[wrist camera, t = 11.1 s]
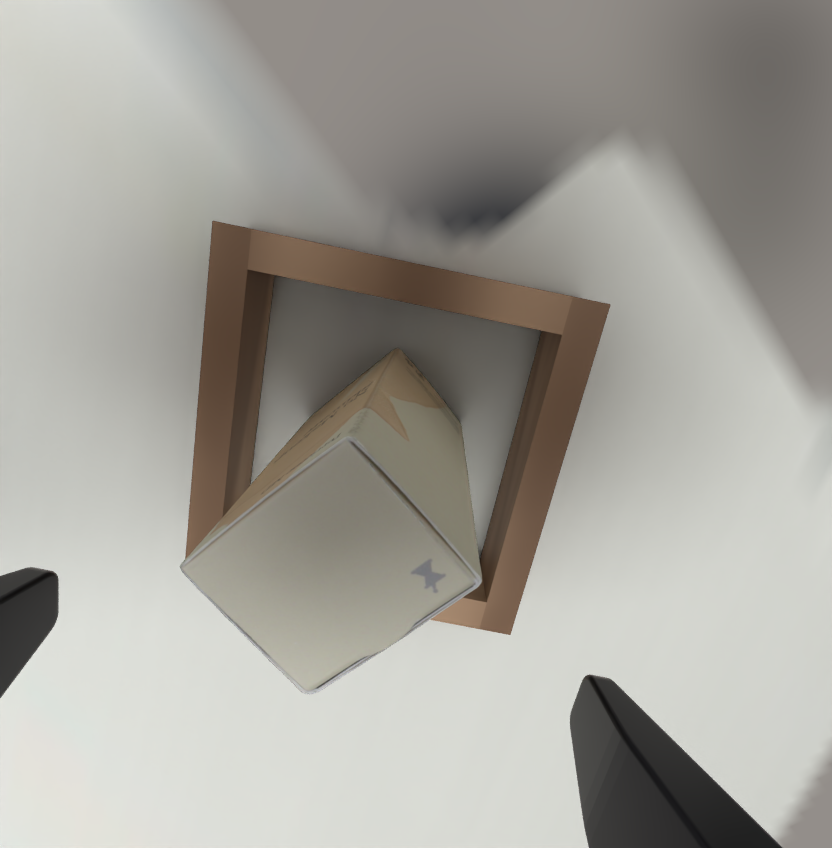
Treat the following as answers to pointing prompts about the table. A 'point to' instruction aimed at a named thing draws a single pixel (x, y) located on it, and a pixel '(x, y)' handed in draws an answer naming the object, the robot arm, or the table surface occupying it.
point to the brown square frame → (413, 283)
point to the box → (348, 530)
